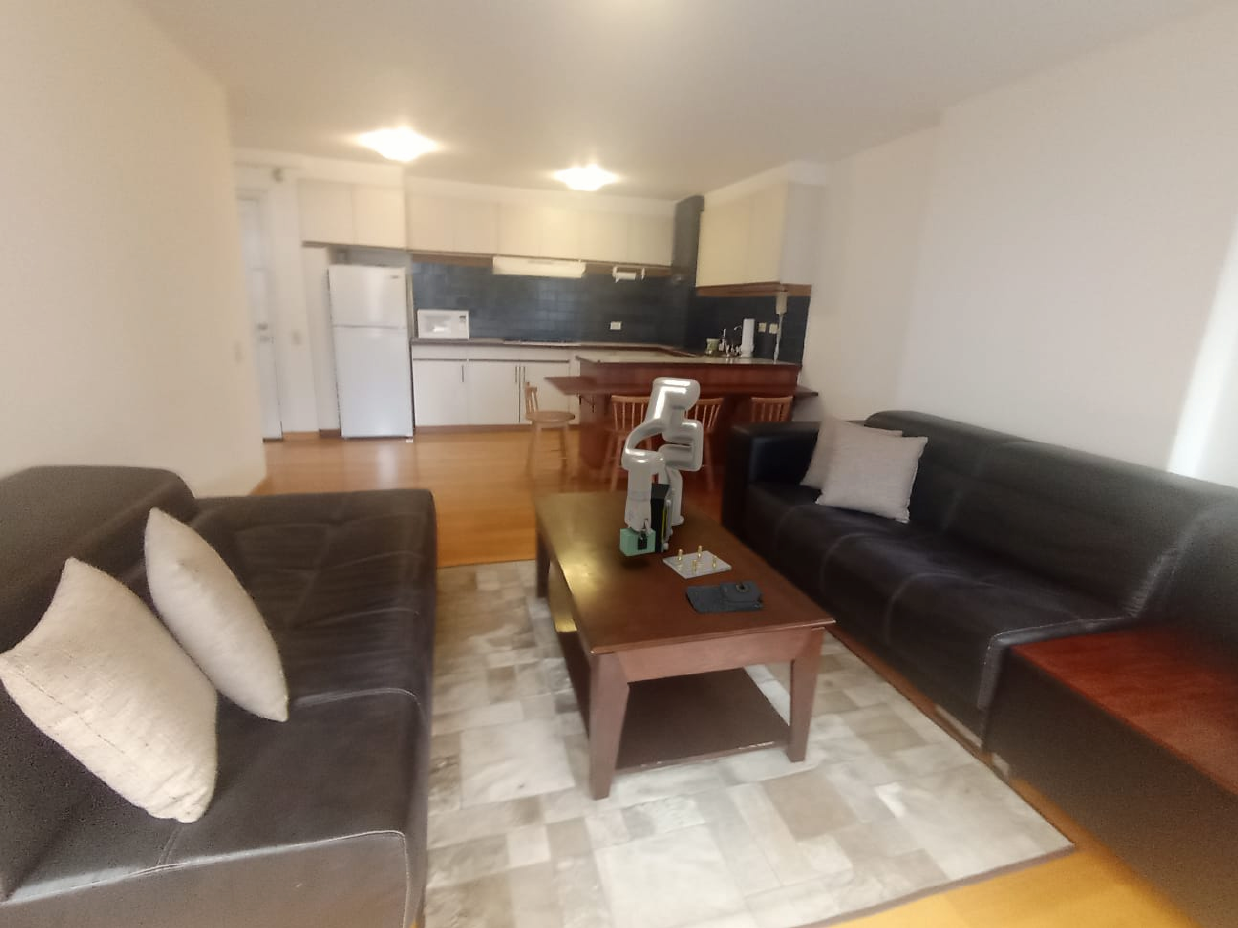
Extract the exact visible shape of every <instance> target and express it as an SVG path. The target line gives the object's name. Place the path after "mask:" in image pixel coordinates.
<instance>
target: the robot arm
mask: <svg viewBox="0 0 1238 928" xmlns="http://www.w3.org/2000/svg"><path fill="white" fill-rule="evenodd" d="M700 394H701V386H700V383H699V381H698V380H695V379H690V378H689V379H688V378H678V377H667V376H666V377H664V376H663V377H661V376H660V377H657V378H655V379H654V380H653V382H652V391H651V393H650V397H649V401H648V406H647V409H646V413H645V417H644V420H643V422H642V423H640V424H639V425H637V426H636V427H634V428H633V430H632V431H631V432H630V433H629V434H628V436H627V438H626V439H625V442H624V445H623V449H622V454H621V458H620V459H621V460H620V462H621V466H622V468H623V469H624V470H625V471H628V479H627V481H628V482H627V496H626V500H625V501H626V502H625V509H624V522H625V523H626V524H627V528H633V529H634V530H636V531H638V532H639V539H638V550H643V549H647V538H648V536H649V535H650V534H651V529H650V525H651V506H650V500H651V484H652V483H653V479H652V478H653V476H656V475H658V481H657V482H658V484H668V485H670V486H672V488H671V489H675V494H674V495H672V494H671V495H672V496H673V509H672V524H671V527H675V526H679V525H682V524H684V517H683V516H682V515H681V510H682V508H681V506H682V492H683V477H682V475H681V473H680V470H681V471H686V472H687V471H688V472H689V471H691V472H697V471H699V470H700V469H701V467H702V464H703V452H704V427H703V424H702V422H701V421H699V420H697V419H688V418H687V419H686V418H685V412H687V411H690V410H691V409H692V407H694V405H695V404H696V403H697V402H698V400H699V398H700V396H701V395H700ZM660 434H661V436H662V440H664V441H665V442H668V443H667V444H662V445H661V446H660V447H659V448H658V450H657V451H655V450H647V449H639V448H636V446H637V445H638V444H639V443H640V442H642V440H643V441H644V439H645V440H646V439H647V438H651V437H653V436H657V435H660ZM671 443H672V444H671ZM674 443H675V444H674ZM683 444H685V445H683ZM643 527H644V529H642V528H643ZM642 531H645V533H643V534H642Z"/></svg>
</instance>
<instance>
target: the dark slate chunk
mask: <svg viewBox="0 0 1238 928" xmlns="http://www.w3.org/2000/svg"><path fill="white" fill-rule="evenodd" d="M685 592H686V594H687V598H688V600H690V604H691V605H692V607H693V609H694V610H695V611H696V612H698V613H699V614H711V613H712V614H716V613H717V614H720V613H723V614H724V613H741V612H742V613H743V612H744V613H745V612H760V611H761V612H762V611H763V609H764V608H765V606H764V604H762V602H761V599H762V598H763V593H762V591H761V590H760V589H759V588H758V586H757V584H756V581H754V580H749V581H743V580H741V581H740V583H738V582H737V583H736V582H734V581H730V582H726V581H721V582H720V583H719V585H712V584H710V585H699V586H695V585H694V586H693V585H692V586H691V585H690V586H687V587H686V590H685Z"/></svg>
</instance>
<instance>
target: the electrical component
mask: <svg viewBox="0 0 1238 928" xmlns="http://www.w3.org/2000/svg"><path fill="white" fill-rule="evenodd" d="M671 488H672V486H670V485H668V484H658V483H657V482H656V483H655V482H652V484H651V500H650V506H651V525H650V528H651V529H652V530H654V531H655V551H654V552H653V553H655V554H656V553H657V554H661V553H663V552H664V550H668V549H669V543H668V541H669V538H670V536H672V535H673V529H672V526H671V524H672V509H673V496H672V495H674V494H675V489H671ZM671 494H672V495H671Z"/></svg>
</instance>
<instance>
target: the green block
mask: <svg viewBox="0 0 1238 928" xmlns="http://www.w3.org/2000/svg"><path fill="white" fill-rule="evenodd" d="M642 529H644V527H643V528H642ZM650 529H651V528H650ZM643 533H645V531H642V534H643ZM638 539H639V532H638V531H636V530H634V529H633V528H628V527H627V528H620V529H619V550H620V551H621V552H622V553H623V554H624V555H625V556H627V557H630V556H637V555H640V554H641V555H642V554H648V553H655V552H654V551H655V531H654V530H652V529H651V534H650V535H649V536H648V538H647V549H643V550H638Z"/></svg>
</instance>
